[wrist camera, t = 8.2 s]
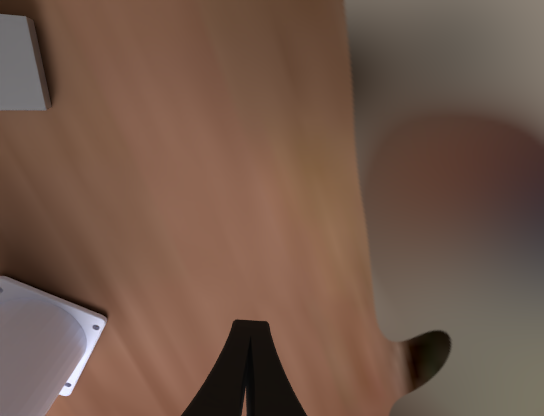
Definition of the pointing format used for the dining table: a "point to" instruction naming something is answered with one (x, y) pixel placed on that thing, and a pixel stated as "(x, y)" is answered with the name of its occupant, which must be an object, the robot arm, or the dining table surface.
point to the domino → (21, 66)
